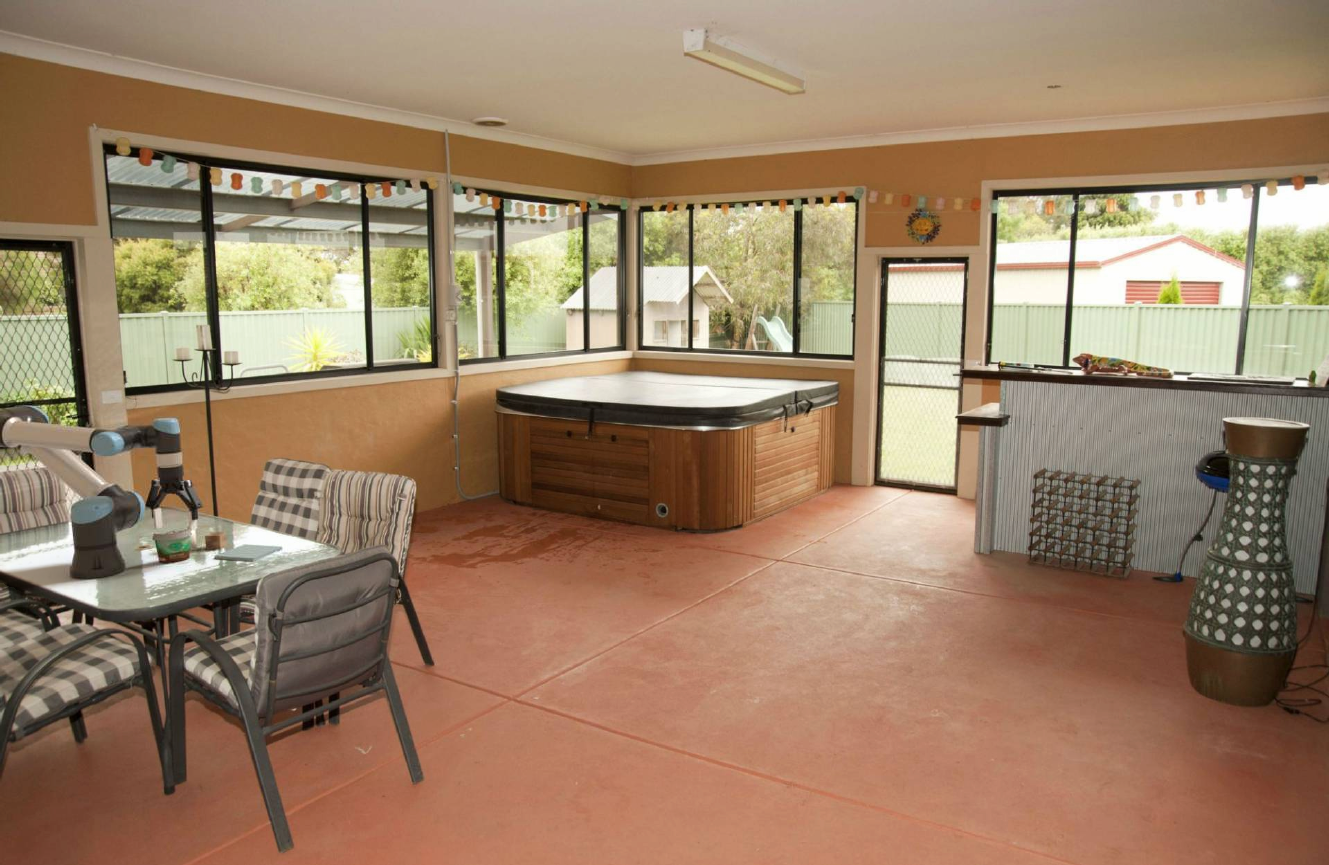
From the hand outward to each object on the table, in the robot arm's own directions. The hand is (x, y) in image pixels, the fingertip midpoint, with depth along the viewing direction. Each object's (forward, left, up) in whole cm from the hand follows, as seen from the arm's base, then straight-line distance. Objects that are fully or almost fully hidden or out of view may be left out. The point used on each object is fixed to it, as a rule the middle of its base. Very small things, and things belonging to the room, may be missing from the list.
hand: (176, 528), depth 306 cm
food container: (0, 0, -11) cm, 11 cm away
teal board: (+18, +12, -11) cm, 24 cm away
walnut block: (+1, +17, -11) cm, 20 cm away
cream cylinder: (-7, +13, -11) cm, 18 cm away
